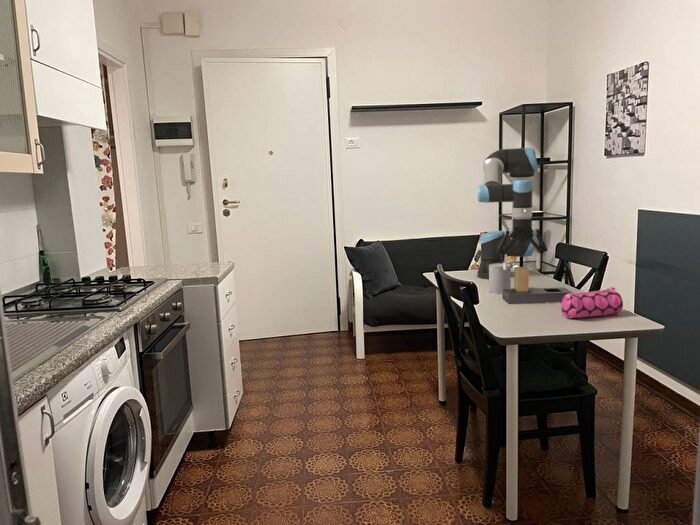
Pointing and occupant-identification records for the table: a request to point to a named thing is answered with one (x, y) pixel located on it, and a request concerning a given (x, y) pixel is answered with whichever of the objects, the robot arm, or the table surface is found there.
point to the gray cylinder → (499, 278)
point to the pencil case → (592, 303)
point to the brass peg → (521, 280)
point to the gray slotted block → (535, 295)
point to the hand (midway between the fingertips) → (521, 269)
